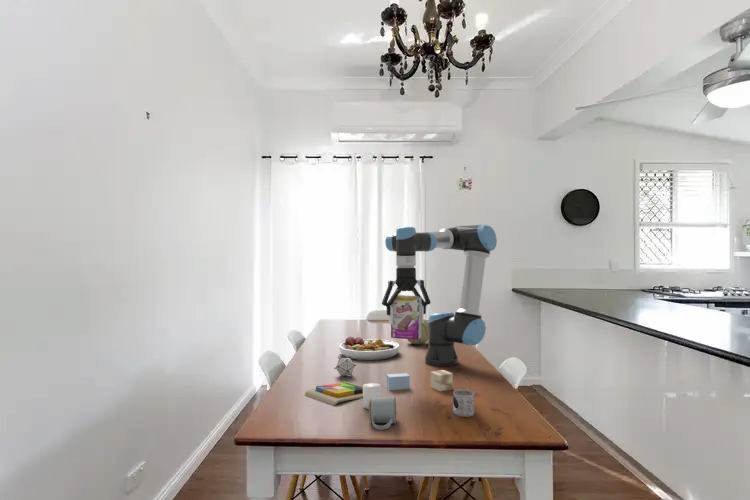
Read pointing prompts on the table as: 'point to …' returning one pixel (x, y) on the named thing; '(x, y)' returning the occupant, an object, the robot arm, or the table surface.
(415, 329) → the candy bar box
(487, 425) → the table surface
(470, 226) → the robot arm
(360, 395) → the wooden puzzle
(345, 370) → the game die
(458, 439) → the table surface
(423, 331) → the cantaloupe
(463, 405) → the mug
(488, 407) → the table surface
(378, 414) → the ceramic mug
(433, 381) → the oak cube
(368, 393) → the white cylinder
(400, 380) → the blue brick
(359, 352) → the bowl
